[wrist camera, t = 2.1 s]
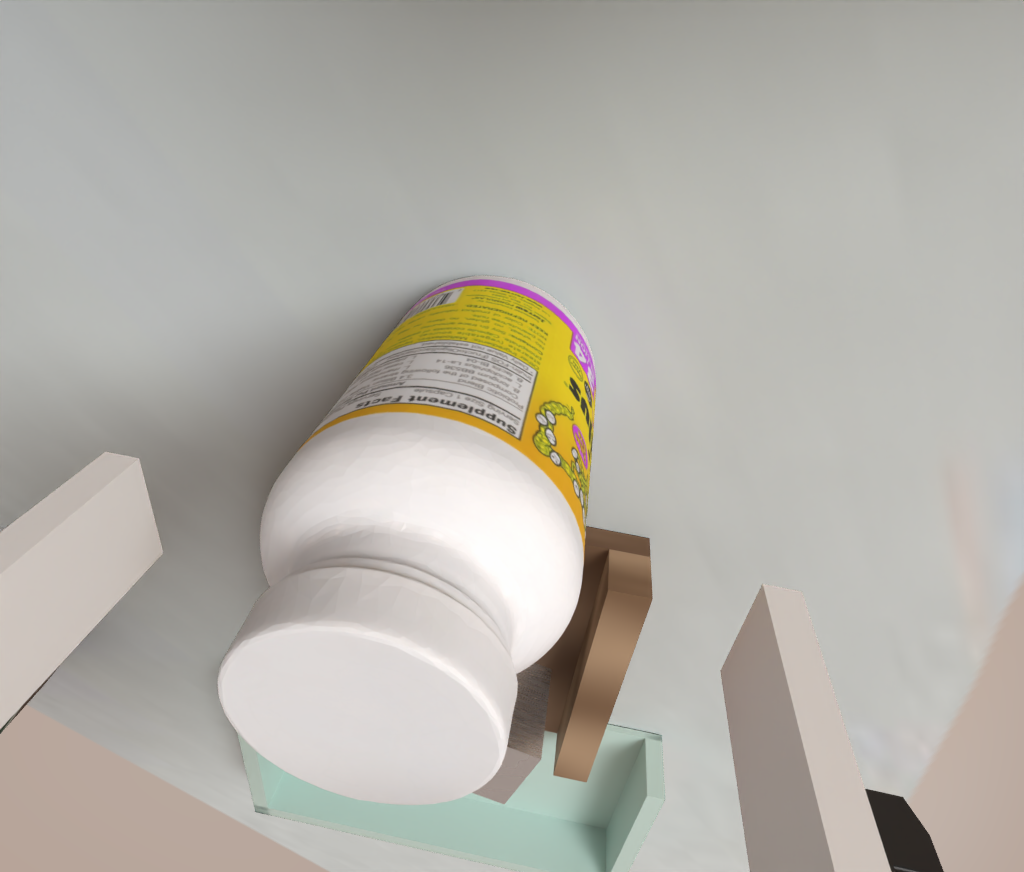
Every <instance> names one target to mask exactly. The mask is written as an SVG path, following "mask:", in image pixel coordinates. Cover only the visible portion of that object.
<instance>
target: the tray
mask: <svg viewBox="0 0 1024 872" xmlns="http://www.w3.org/2000/svg"><path fill="white" fill-rule="evenodd" d="M237 734H238V732H237ZM238 738H239V743H240V747H241V751H242V756H243V760H244V764H245V769H246V773H247V777H248V782H249V786H250V791H251V795H252V799H253V804H254V808H255V812H258V813H262V814H267V815H271V816H276V817H280V818H284V819H289V820H293V821H298V822H302V823H306V824H311V825H315V826H320V827H324V828H329V829H333V830H337V831H342V832H346V833H351V834H355V835H359V836H364V837H368V838H373V839H377V840H382V841H386V842H390V843H395V844H399V845H404V846H408V847H412V848H417V849H421V850H426V851H430V852H435V853H439V854H443V855H448V856H452V857H457V858H461V859H465V860H470V861H474V862H479V863H483V864H488V865H492V866H496V867H501V868H505V869H510V870H514V871H518V872H629V870H630V868H631V866H632V864H633V862H634V860H635V858H636V856H637V854H638V852H639V850H640V848H641V846H642V844H643V842H644V840H645V838H646V836H647V834H648V832H649V830H650V829H651V827H652V825H653V823H654V821H655V819H656V817H657V815H658V813H659V811H660V809H661V807H662V805H663V803H664V801H665V785H664V767H663V749H662V735H657V734H652V733H647V732H643V731H638V730H633V729H628V728H623V727H619V726H614V725H609V724H607V727H606V730H605V733H604V735H603V738H602V741H601V744H600V746H599V749H598V752H597V755H596V758H595V760H594V763H593V766H592V769H591V772H590V774H589V777H588V780H587V783H586V782H582V781H577V780H572V779H568V778H563V777H558V776H554V775H553V772H554V761H555V751H556V740H557V733H554V732H549V731H544V740H543V749H542V758H541V760H540V762H539V763H538V764H537V765H536V766H535V768H534V769H533V770H532V771H531V773H530V774H529V775H528V776H527V777H526V779H525V780H524V781H523V782H522V784H521V785H520V786H519V787H518V788H517V790H516V791H515V792H514V793H513V795H512V796H511V797H510V798H509V799H508V801H507V802H506V803H505V804H502V803H499V802H496V801H493V800H491V799H488V798H485V797H482V796H479V795H477V794H474V793H470V794H468V795H466V796H464V797H461V798H459V799H455V800H452V801H448V802H441V803H437V804H426V805H396V804H385V803H377V802H371V801H364V800H357V799H353V798H349V797H346V796H342V795H339V794H336V793H333V792H330V791H327V790H324V789H321V788H319V787H317V786H315V785H312V784H310V783H308V782H306V781H303V780H301V779H299V778H297V777H295V776H293V775H291V774H289V773H287V772H285V771H284V770H282V769H281V768H279V767H278V766H276V765H275V764H273V763H272V762H270V761H269V760H267V759H266V758H264V757H263V756H262V755H260V754H259V753H258V752H256V751H255V750H254V749H253V748H252V747H251V746H250V745H249V744H248V743H247V742H246V741H245V740H244V739H243V738H242V737H241V736H240V735H239V734H238Z"/></svg>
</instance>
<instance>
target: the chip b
mask: <svg viewBox="0 0 1024 872" xmlns="http://www.w3.org/2000/svg"><path fill="white" fill-rule="evenodd" d="M516 676H517V682H518V687H517V697H516V702H515V706H514V711H513V716H512V722H511V728H510V733H509V739H508V745H507V749H506V753H505V757H504V760H503V762H502V765H501V767H500V768H499V770H498V771H497V773H496V774H495V775H494V776H493V778H492V779H491V780H490V781H488V782H487V783H486V784H485V785H483V786H482V787H481V788H479V789H478V790H476V791H474V792H472V793H474V794H477V795H479V796H482V797H485V798H488V799H491V800H493V801H496V802H499V803H502V804H505V803H506V802H507V801H508V799H509V798H510V797H511V796H512V795H513V793H514V792H515V791H516V790H517V788H518V787H519V786H520V785H521V784H522V782H523V781H524V780H525V779H526V777H527V776H528V775H529V774H530V773H531V771H532V770H533V769H534V768H535V766H536V765H537V764H538V763H539V762H540V760H541V758H542V749H543V740H544V731H545V722H546V713H547V705H548V696H549V687H550V678H551V669H549V668H547V667H544V666H542V665H539V664H536V663H534V664H532V665H531V666H529V667H528V668H526V669H525V670H523V671H521V672H520V673H518V674H516Z"/></svg>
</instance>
